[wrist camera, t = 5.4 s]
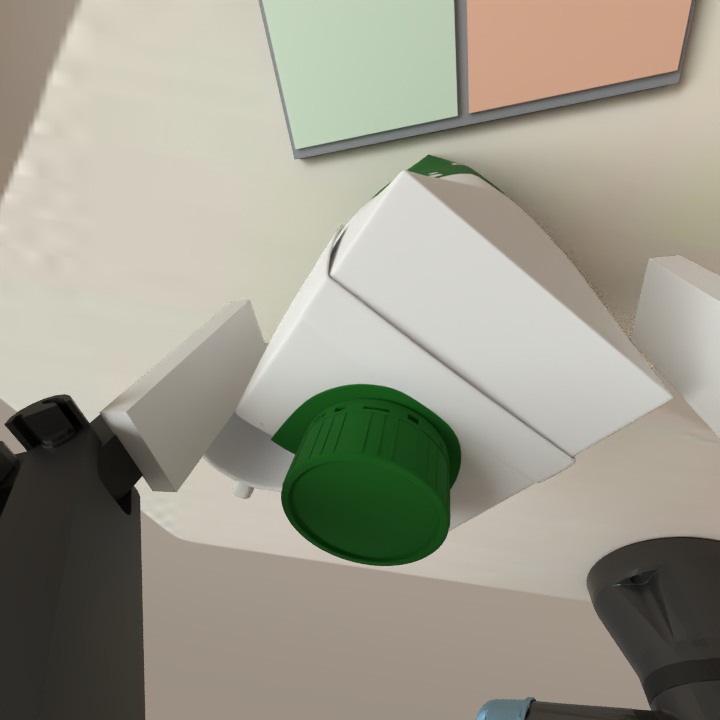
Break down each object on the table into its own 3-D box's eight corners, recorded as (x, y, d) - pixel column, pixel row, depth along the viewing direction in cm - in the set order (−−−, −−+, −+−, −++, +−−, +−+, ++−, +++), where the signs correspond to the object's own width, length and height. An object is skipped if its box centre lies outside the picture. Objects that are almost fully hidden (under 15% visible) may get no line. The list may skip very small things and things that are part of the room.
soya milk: (342, 251, 26) (161, 468, 9) (428, 126, 21) (384, 87, 4) (438, 324, 27) (436, 627, 10) (537, 223, 23) (823, 476, 6)
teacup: (268, 301, 29) (216, 351, 22) (378, 376, 31) (362, 444, 24) (209, 405, 36) (157, 467, 29) (301, 461, 38) (272, 531, 31)
